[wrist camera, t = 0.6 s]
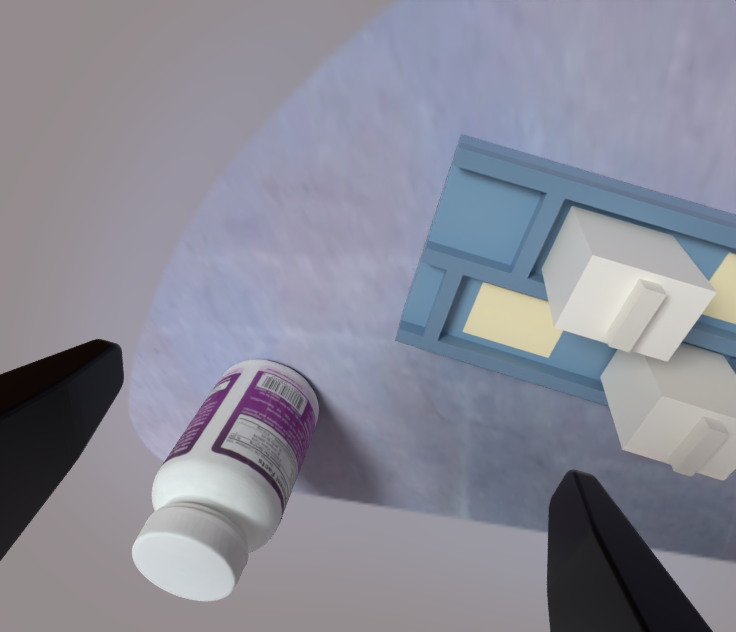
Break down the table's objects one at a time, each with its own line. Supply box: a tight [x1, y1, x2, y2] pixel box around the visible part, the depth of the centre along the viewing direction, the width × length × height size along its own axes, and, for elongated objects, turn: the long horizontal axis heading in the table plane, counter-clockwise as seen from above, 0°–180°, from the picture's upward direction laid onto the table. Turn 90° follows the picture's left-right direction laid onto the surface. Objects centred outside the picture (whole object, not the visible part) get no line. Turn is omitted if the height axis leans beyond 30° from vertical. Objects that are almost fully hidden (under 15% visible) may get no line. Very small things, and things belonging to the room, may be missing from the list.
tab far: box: [600, 342, 736, 481], centre depth 18 cm, size 4×2×5 cm
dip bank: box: [395, 134, 736, 406], centre depth 20 cm, size 15×8×2 cm, turn 77°
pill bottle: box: [132, 359, 319, 601], centre depth 23 cm, size 5×5×10 cm
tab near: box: [542, 206, 717, 362], centre depth 16 cm, size 4×2×5 cm
